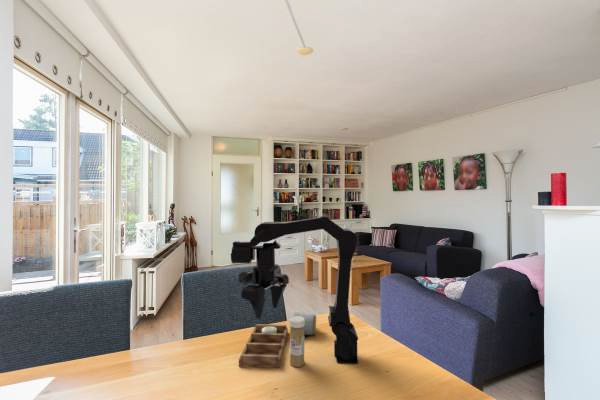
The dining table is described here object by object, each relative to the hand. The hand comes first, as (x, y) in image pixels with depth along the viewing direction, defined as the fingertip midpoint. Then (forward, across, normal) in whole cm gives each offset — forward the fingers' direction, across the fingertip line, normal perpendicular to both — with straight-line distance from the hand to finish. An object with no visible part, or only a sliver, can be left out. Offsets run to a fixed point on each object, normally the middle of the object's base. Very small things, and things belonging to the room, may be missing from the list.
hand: (267, 313), depth 93 cm
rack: (+14, -4, -4) cm, 15 cm away
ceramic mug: (+14, -21, +2) cm, 25 cm away
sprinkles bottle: (+14, -1, +10) cm, 17 cm away
